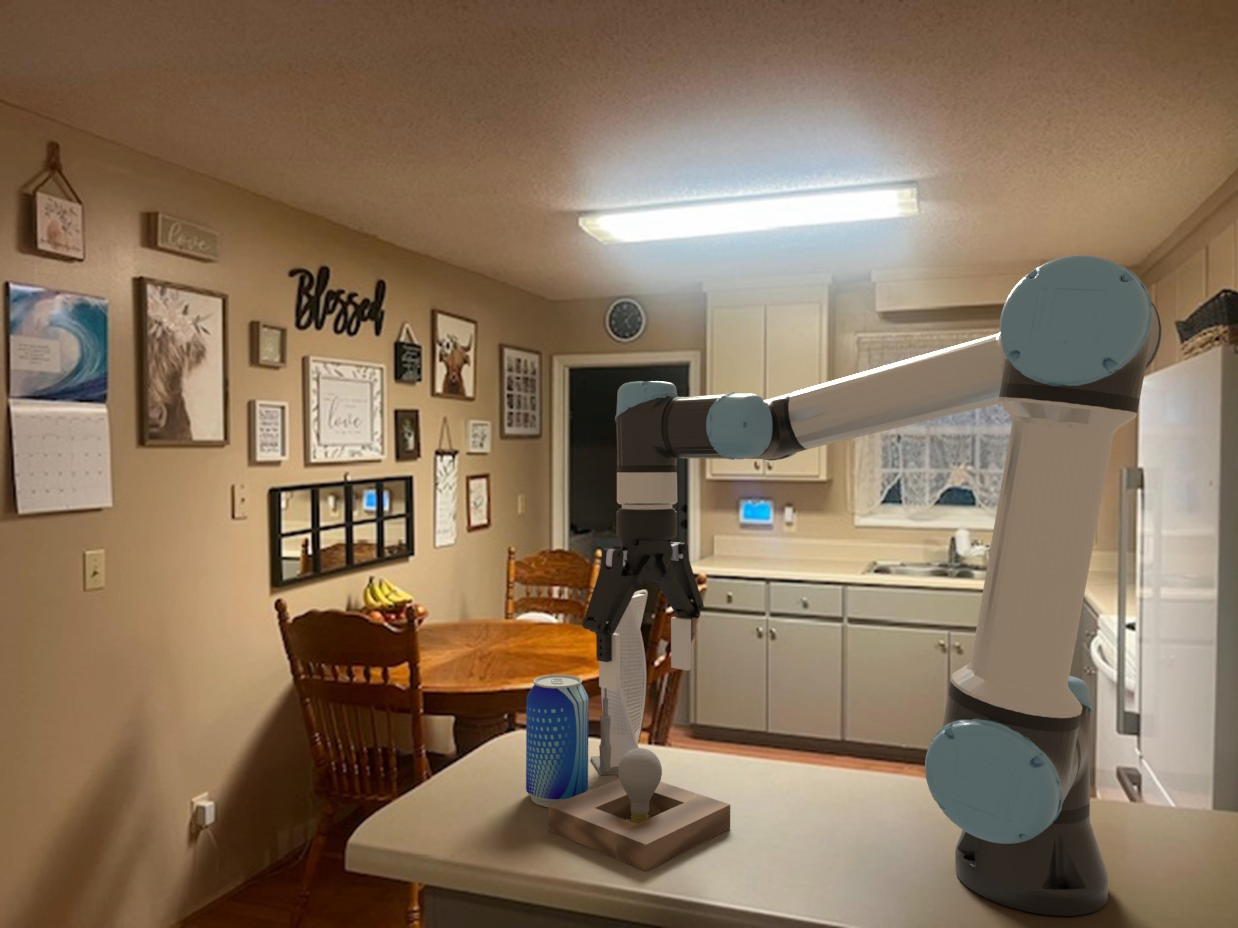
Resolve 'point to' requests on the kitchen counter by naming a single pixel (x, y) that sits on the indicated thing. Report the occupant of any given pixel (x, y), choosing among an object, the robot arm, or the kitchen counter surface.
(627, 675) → the skyscraper
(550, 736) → the beer can
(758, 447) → the robot arm
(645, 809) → the light bulb
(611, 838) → the holder
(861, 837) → the kitchen counter surface
